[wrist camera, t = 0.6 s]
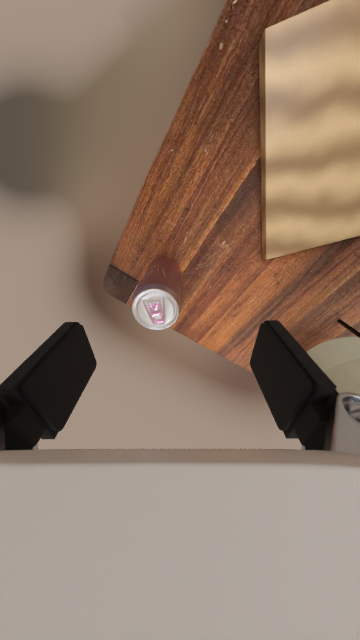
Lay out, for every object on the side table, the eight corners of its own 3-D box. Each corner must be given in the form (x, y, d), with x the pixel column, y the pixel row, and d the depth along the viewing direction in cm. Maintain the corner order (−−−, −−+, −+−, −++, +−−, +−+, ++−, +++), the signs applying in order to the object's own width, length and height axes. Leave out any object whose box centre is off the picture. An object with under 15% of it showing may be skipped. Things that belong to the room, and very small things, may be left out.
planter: (265, 364, 47) (325, 475, 27) (275, 314, 38) (373, 422, 19) (324, 359, 46) (432, 471, 26) (348, 306, 37) (532, 413, 18)
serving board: (258, 42, 19) (265, 28, 18) (449, -40, 17) (475, -65, 15) (261, 257, 32) (266, 260, 30) (372, 228, 29) (382, 229, 28)
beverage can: (153, 289, 35) (138, 334, 22) (145, 259, 32) (123, 291, 19) (182, 284, 35) (183, 328, 22) (177, 253, 31) (176, 283, 19)
